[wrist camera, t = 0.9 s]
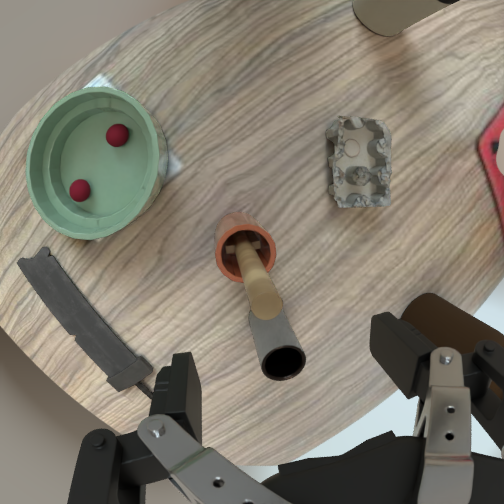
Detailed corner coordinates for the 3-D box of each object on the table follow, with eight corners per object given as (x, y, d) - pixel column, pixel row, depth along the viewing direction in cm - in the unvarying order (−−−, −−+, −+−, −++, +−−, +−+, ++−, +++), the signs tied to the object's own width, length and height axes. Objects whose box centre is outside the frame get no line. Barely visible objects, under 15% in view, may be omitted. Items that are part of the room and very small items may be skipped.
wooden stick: (222, 230, 33) (234, 297, 16) (252, 226, 34) (295, 286, 16) (225, 246, 34) (239, 325, 17) (254, 241, 34) (297, 314, 17)
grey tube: (280, 332, 38) (301, 380, 29) (246, 331, 38) (258, 381, 28) (286, 301, 37) (310, 345, 27) (250, 299, 37) (264, 345, 27)
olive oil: (417, 279, 39) (542, 365, 16) (452, 299, 42) (555, 372, 18) (383, 339, 42) (480, 449, 18) (421, 351, 44) (508, 439, 20)
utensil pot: (211, 215, 33) (211, 229, 26) (258, 208, 34) (272, 220, 26) (218, 261, 35) (220, 287, 27) (264, 253, 35) (278, 277, 28)
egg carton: (323, 116, 32) (337, 110, 28) (377, 123, 33) (394, 119, 29) (323, 205, 35) (337, 209, 31) (377, 205, 35) (394, 209, 32)
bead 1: (73, 181, 29) (63, 182, 27) (92, 176, 30) (83, 177, 27) (77, 202, 30) (67, 205, 28) (95, 198, 30) (87, 200, 28)
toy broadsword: (46, 231, 31) (38, 234, 29) (206, 414, 41) (206, 423, 39) (18, 263, 32) (10, 267, 30) (172, 430, 41) (171, 439, 39)
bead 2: (109, 128, 28) (101, 125, 26) (130, 122, 29) (123, 119, 26) (111, 150, 29) (103, 148, 27) (132, 144, 29) (126, 143, 27)
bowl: (46, 120, 27) (21, 114, 21) (160, 85, 28) (150, 69, 23) (63, 237, 31) (40, 250, 26) (178, 215, 33) (170, 224, 27)
